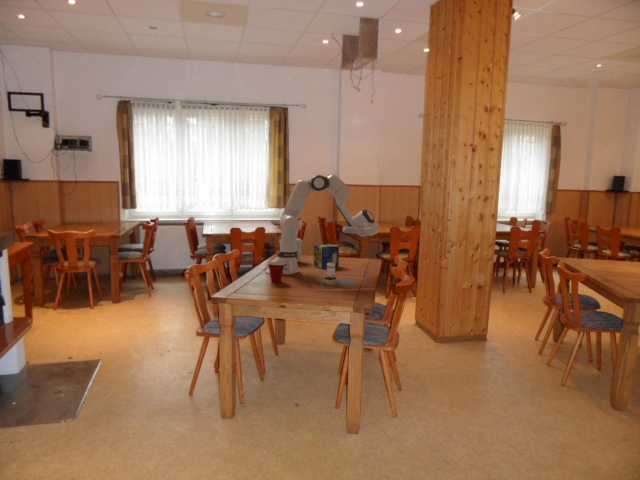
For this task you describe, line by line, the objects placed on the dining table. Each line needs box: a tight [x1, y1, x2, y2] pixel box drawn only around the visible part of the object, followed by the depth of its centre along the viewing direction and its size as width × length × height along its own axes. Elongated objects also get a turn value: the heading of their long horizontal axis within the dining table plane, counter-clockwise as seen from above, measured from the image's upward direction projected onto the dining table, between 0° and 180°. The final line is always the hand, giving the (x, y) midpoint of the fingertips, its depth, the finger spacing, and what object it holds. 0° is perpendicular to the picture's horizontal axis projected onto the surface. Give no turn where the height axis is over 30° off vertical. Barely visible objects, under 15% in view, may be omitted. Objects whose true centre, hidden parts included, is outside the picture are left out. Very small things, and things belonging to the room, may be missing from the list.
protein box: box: [313, 243, 340, 269], centre depth 328 cm, size 10×15×16 cm
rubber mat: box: [315, 278, 359, 287], centre depth 276 cm, size 23×17×1 cm
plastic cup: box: [267, 261, 285, 284], centre depth 277 cm, size 11×11×12 cm
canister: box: [278, 237, 304, 263], centre depth 343 cm, size 18×18×21 cm
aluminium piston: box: [325, 263, 336, 280], centre depth 272 cm, size 5×5×12 cm
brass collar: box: [321, 276, 339, 286], centre depth 272 cm, size 10×10×3 cm
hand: (349, 231), depth 290 cm, fingers open, 8 cm apart
